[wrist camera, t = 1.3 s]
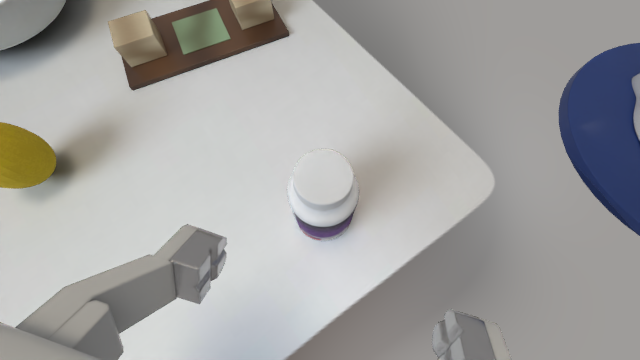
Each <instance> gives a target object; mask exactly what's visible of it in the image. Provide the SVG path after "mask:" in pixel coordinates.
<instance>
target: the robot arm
mask: <svg viewBox="0 0 640 360" xmlns="http://www.w3.org/2000/svg"><path fill="white" fill-rule="evenodd" d="M631 82H632V87H633V90H634V93H635V96H636V104H635V108H634V113H633V122H634V127H635V131H636V134H637V136H638V139H639V141H640V73H639V74H637V75H636V76H634V77H633V78H632V81H631ZM226 245H227V238H226V237H223V236H220V235H218V234H215V233H212V232H209V231H206V230H203V229H200V228H197V227H194V226H191V225H188V224H187V225H184V226H183V227H181V228H180V229H179V230H178V231H177V232H176V233H175V234H174V235H173V236H172V237H171V238H170V239H169V240H168V241H167V242H166V243H165V244H164V245H163V246H162V247H161V249H160V250H159V251H158V252H157V253H156V254H155V255H154V256H153V255H147V256H144V257H142V258H139V259H136V260H134V261H131V262H128V263H126V264H123V265H121V266H118V267H115V268H113V269H110V270H107V271H105V272H102V273H100V274H97V275H94V276H92V277H89V278H87V279H84V280H81V281H79V282H76V283H73V284H71V285H68V286H66V287H64V288H62V289H61V290H60V291H59V292H58V293H56V294H55V295H54V296H53V297H52V298H50V299H49V300H48V301H47V302H46V303H44V304H43V305H42V306H41V307H39V308H38V309H37V310H36V311H35V312H33V313H32V314H31V315H30V316H29V317H27V318H26V319H25V320H24V321H22V322H21V323H20V324H19V325H18V326H16V327H12V326H9V325H6V324H4V323H1V322H0V360H118V359H119V357H120V356H121V355H122V353H123V345H122V342H121V339H120V336H119V333H121V332H123V331H124V330H126V329H128V328H129V327H131V326H132V325H134V324H136V323H137V322H139V321H141V320H142V319H144V318H145V317H147V316H149V315H150V314H152V313H154V312H155V311H157V310H158V309H160V308H162V307H163V306H165V305H167V304H168V303H170V302H172V301H173V300H175V299H176V297H178V298H181V299H185V300H188V301H191V302H194V303H197V304H200V303H201V301H202V300H203V298H204V297H205V295H206V294H207V292H208V291H209V289H210V281H212V280H214V279H216V278H217V277H218V276H219V274H220V273H221V271H222V269H223V266H224V264H225V260H226V252H225V250H224V248H225V246H226ZM444 317H445V320H443V321H440V322H438V323H437V325H436V326H435V328H434V331H433V335H432V345H433V350H434V352H435V353H436V355H437V357H438V360H511V357H510V354H509V352H508V349H507V346H506V343H505V340H504V338H503V335H502V332H501V330H500V327H499V326H498V325H497V324H496V323H493V322H490V321H487V320H484V319H480V318H478V317H475V316H471V315H468V314H465V313H462V312H459V311H455V310H452V309H450V310H448V311H447V312H446V313H445V314H444Z"/></svg>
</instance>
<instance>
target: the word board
mask: <svg viewBox="0 0 640 360" xmlns="http://www.w3.org/2000/svg"><path fill="white" fill-rule="evenodd" d="M108 24H109V28H110V32H111V36H112V40H113V44H114V48H115V49H116V50H117V51H118V52H119V53H120V55H121V56H122V60H123V64H124V67H125V71H126V75H127V79H128V83H129V87H130V88H131V89H132V90H135V89H138V88H141V87H144V86H146V85H149V84H152V83H155V82H158V81H161V80H164V79H166V78H169V77H172V76H175V75H178V74H181V73H183V72H186V71H189V70H192V69H195V68H198V67H201V66H203V65H206V64H209V63H212V62H215V61H218V60H221V59H223V58H226V57H229V56H232V55H235V54H238V53H241V52H243V51H246V50H249V49H252V48H255V47H258V46H261V45H263V44H266V43H269V42H272V41H275V40H278V39H281V38H283V37H286V36H289V32H288V30H287V28H286V26H285V25H284V23H283V21H282V20H281V18H280V16H279V14H278V13H277V11H276V9H275V8H274V6H273V4H272V2H271V0H209V1H206V2H203V3H200V4H197V5H193V6H190V7H187V8H184V9H181V10H178V11H174V12H171V13H168V14H165V15H162V16H159V17H156V18H152V19H151V18H150V16H149V14H148V13H147V11H146V10H144V11H140V12H137V13H134V14H131V15H128V16H124V17H121V18H118V19H115V20H111V21H108Z"/></svg>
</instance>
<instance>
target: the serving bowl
mask: <svg viewBox="0 0 640 360" xmlns="http://www.w3.org/2000/svg"><path fill="white" fill-rule="evenodd" d="M65 2H66V0H0V50H4V49H7V48H10V47H13V46H15V45H18V44H20V43H22V42H24V41H26V40H28V39H30V38H32V37H33V36H35V35H36V34H38V33H39V32H41V31H42V30H43V29H45V28H46V27H47V26H48V25H49V24H50V23H51V22H52V21H53V20H54V19H55V18H56V17H57V15H58V14H59V13H60V11H61V10H62V8H63V6H64V4H65Z"/></svg>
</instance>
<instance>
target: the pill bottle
mask: <svg viewBox="0 0 640 360" xmlns="http://www.w3.org/2000/svg"><path fill="white" fill-rule="evenodd" d="M287 197H288V201H289V204H290V207H291V209H292V212H293V214H294V217H295V219H296V222H297V224H298V226H299V228H300V229H301V230H302V232H303V233H304V234H306V235H307V236H308V237H310V238H312V239H314V240H318V241H329V240H333V239H335V238H337V237H339V236H340V235H342V234H343V233H344V232H345V231H346V229H347V228H348V226H349V224H350V222H351V219H352V216H353V213H354V210H355V208H356V205H357V203H358V198H359V185H358V181H357V179H356V176H355V175H354V173H353V169H352V166H351V164H350V162H349V161H348V160H347V159H346V157H344V156H343V155H342V154H340V153H339V152H337V151H334V150H331V149H316V150H312V151H310V152H308V153H306V154H305V155H303V156H302V157H301V158H300V159H299V160H298V162H297V163H296V165H295V168H294V171H293V173H292V175H291V177H290V179H289V182H288V187H287Z"/></svg>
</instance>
